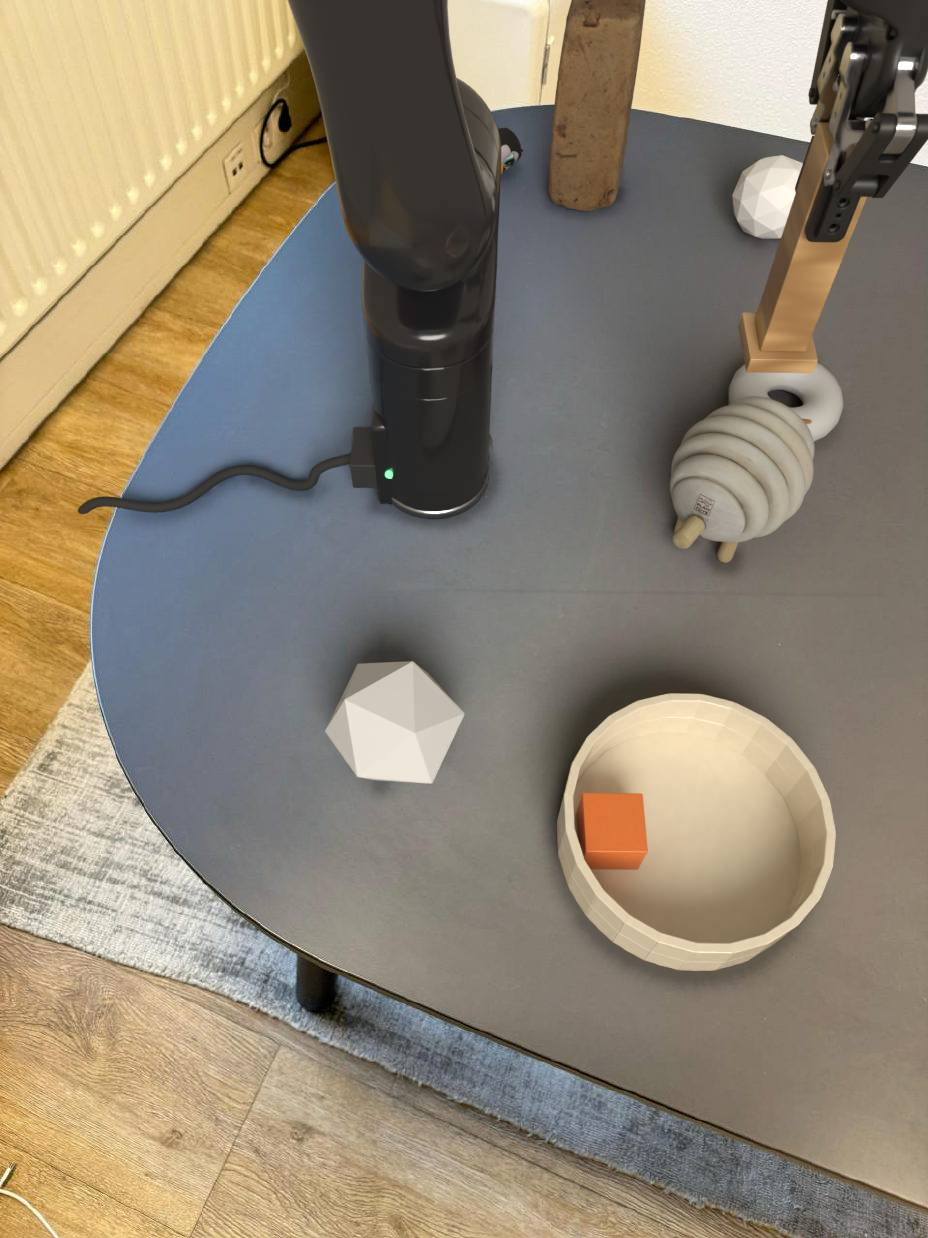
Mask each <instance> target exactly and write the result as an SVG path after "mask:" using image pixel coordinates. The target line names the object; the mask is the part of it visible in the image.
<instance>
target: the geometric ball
mask: <svg viewBox="0 0 928 1238" xmlns="http://www.w3.org/2000/svg"><path fill="white" fill-rule="evenodd" d="M802 165H803V162H802V161H798V160H796V159H793V158H791V157H788V156H785V155H783V154H780V155H773V156H767V157H763V158H760V159H758V160H757V161H756V162H754V163H753V164H752V165H749V167H747V168H745V169H744V170H742V172H741V174H740V176H739V179H738V181H737V182H736V183H737V184H736V186H735V188H734V190H733V193H732V195H731V198H732V207H733V214H734V216H735V219H736V221H737V223H738V225H739V226H740V228H741V230H742V232H743V233H746V234H748V235H750V236H753V237H755V238H758V239H762V240H771V239H772V240H774V239H776V240H779V239H781V237H782V234H783V231H784V227H785V224H786V221H787V218H788V215H789V212H790V209H791V206H792V203H793V200H794V197H795V194H796V192H795V186H796V183H797V180H798V177H799V174H800V171H801V168H802Z"/></svg>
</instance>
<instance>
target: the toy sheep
mask: <svg viewBox="0 0 928 1238" xmlns="http://www.w3.org/2000/svg"><path fill="white" fill-rule="evenodd" d="M789 407H790V406H787V405H786V404H784V403H782V402H780V401H778V400H775V399H773V398H770V399H769V398H765V397H757V396H752V397H744V398H741V399H738V400H736V401H734V402H732V403H731V404H729V403H728V405H725V406H721V407H719V408H717V409H715V410H713V411H712V412H711V413H710V414H708V415H707V416H706V417H705V418H704V419H702V420H700V421H698V422H696V423H695V424H693V426H691V427H690V428H689V430H687V432H686V433H685V434H684V436H683V438H682V441H681V443H680V445H679V447H678V448H677V450H676V451H675V453H674V455H673V457H672V460H671V461H672V462H671V466H670V480H669V491H670V496H671V500H672V501H671V502H672V505H673V509H674V511H675V513H676V515H677V519H676V523H675V526H674V529H673V532H674V533H673V535H672V542H673V544H674V545H675V546H676V547H677V548H679V549H682V550H687V549H689V548H690V547H691V546H692V545H693V544H694V542H695V541H696V540H697V539H698V538H699V536H700V537H701V538H703V539H705V540H708V541H713V542H720V545H719V548H718V550H717V553H716V557H717V560H718V561H720V562H722V563H729V562H731V561H732V559H733V558H734V555H735V553H736V550H737V547H738V545H739V543H743V542H747V541H751V540H752V539H757V538H763V537H766V536H767V535H770V534H772V533H775V531H776V530H778V529H779V528H780V527H781V526H782V524H783V523H784V522H786V521H788V520H789V519H790V518H792V517H793V516H795V514H796V513H797V512H798V511H799V509H800V508H801V506H802V504H803V502H804V498H805V495H806V494H807V492H808V491H809V489H810V488H811V486H812V483H813V480H814V474H815V473H814V471H815V469H814V462H813V461H814V457H815V452H816V451H815V441H814V440H813V437H812V434H811V432H810V430H809V428H808V426H807V424H811V423H812V421H811V420H810V419H802V418H801V417H800V416H799V415H798V414H797V413H796V412H794V411H793V410H792V409H791V408H792V407H790V408H789Z"/></svg>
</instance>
